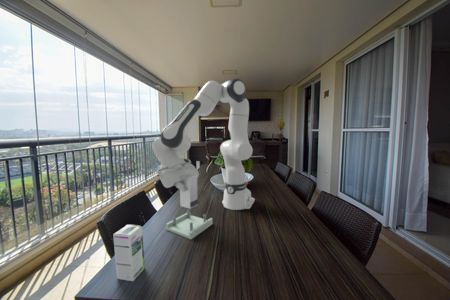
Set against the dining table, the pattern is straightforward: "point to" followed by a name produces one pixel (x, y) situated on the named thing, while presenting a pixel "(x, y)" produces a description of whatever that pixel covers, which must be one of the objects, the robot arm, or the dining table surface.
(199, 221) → the pin tray
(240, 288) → the dining table surface
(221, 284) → the dining table surface
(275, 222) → the dining table surface
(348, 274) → the dining table surface
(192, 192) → the white carton
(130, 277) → the syrup box
